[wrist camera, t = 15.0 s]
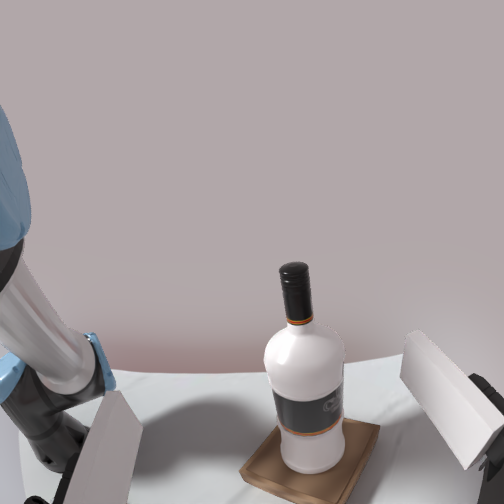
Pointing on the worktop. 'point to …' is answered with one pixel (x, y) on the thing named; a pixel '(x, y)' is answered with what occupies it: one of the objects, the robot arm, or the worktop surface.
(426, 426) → the worktop surface
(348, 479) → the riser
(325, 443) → the vodka
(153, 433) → the worktop surface
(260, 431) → the worktop surface
